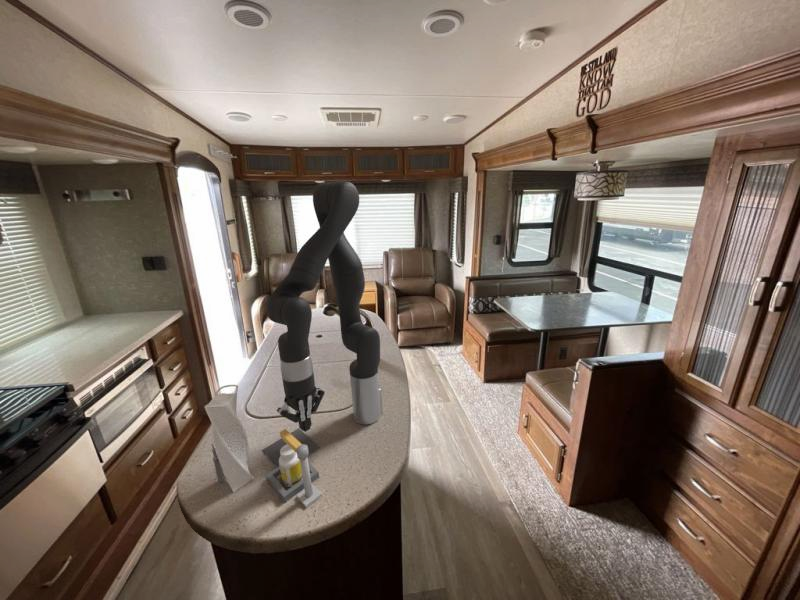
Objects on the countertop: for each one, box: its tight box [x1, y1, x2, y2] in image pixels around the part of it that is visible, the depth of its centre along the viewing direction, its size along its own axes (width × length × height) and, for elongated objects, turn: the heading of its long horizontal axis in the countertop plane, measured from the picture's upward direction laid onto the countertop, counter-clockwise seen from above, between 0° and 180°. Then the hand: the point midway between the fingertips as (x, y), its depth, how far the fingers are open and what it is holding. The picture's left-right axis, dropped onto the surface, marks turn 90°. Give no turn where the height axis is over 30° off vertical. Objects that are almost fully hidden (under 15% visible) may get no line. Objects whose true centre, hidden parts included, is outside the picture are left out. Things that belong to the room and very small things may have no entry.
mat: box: [262, 428, 321, 468], centre depth 93 cm, size 12×12×1 cm
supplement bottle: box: [279, 444, 303, 488], centre depth 82 cm, size 5×5×10 cm
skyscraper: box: [204, 384, 255, 498], centre depth 79 cm, size 8×8×28 cm
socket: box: [265, 456, 323, 509], centre depth 79 cm, size 10×15×13 cm, turn 47°
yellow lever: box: [279, 428, 309, 460], centre depth 76 cm, size 11×3×2 cm, turn 47°
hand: (305, 429), depth 83 cm, fingers closed
